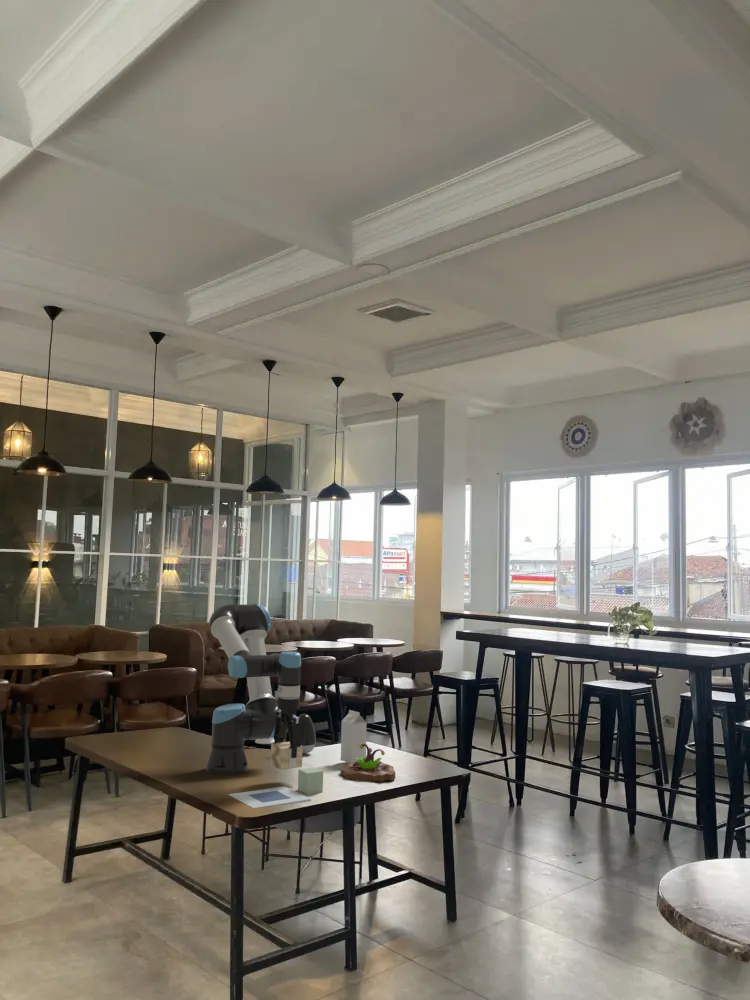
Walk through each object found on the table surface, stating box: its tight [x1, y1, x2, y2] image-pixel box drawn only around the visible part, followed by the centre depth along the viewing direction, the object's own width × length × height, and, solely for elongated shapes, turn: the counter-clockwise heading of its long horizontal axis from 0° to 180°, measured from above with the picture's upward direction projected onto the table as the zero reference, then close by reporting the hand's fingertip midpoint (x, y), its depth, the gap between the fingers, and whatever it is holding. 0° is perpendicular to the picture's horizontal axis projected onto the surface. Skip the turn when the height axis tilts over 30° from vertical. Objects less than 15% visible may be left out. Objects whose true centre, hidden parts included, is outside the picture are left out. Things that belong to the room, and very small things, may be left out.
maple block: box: [269, 741, 303, 771], centre depth 279 cm, size 8×8×7 cm
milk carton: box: [340, 709, 368, 764], centre depth 315 cm, size 7×7×19 cm
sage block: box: [297, 767, 324, 795], centre depth 268 cm, size 6×6×7 cm
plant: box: [340, 743, 396, 783], centre depth 294 cm, size 20×20×11 cm
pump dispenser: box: [298, 713, 317, 754], centre depth 329 cm, size 10×10×15 cm
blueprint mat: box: [228, 785, 312, 809], centre depth 257 cm, size 18×20×1 cm
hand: (286, 764), depth 279 cm, fingers closed on maple block, 8 cm apart
